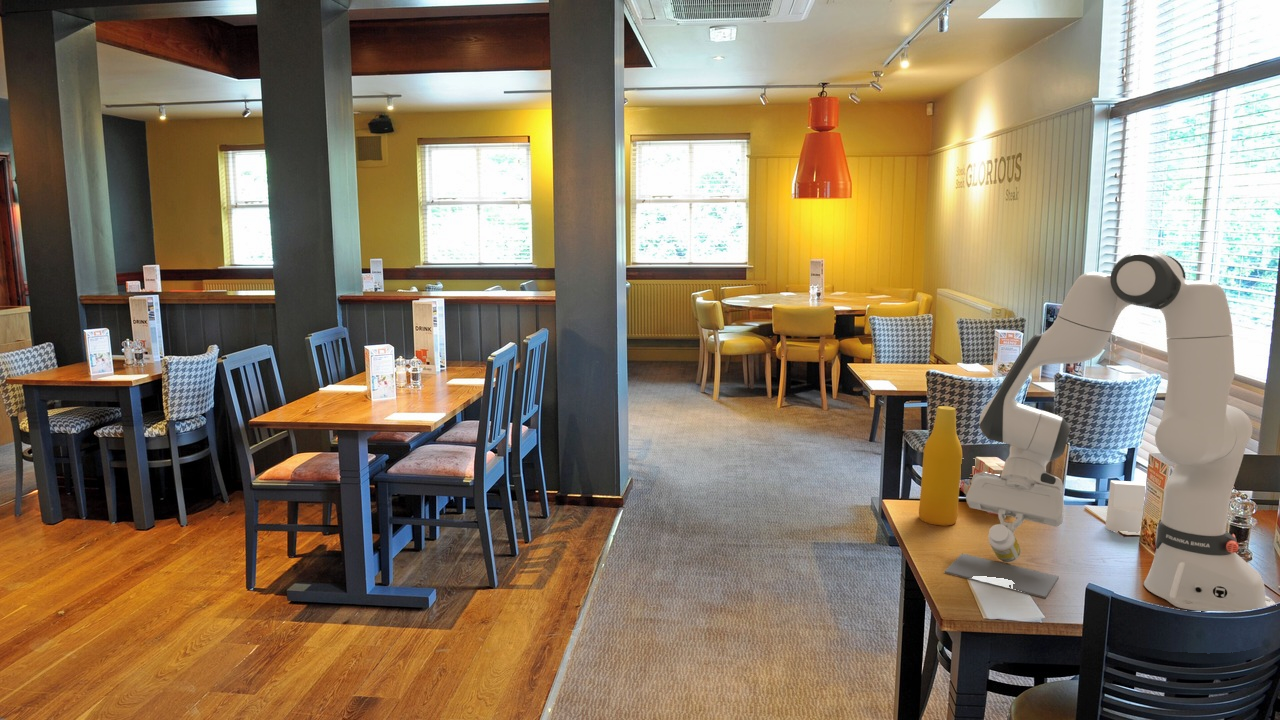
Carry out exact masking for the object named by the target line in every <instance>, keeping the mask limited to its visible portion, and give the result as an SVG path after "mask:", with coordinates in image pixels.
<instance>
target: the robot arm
mask: <svg viewBox="0 0 1280 720" xmlns="http://www.w3.org/2000/svg"><path fill="white" fill-rule="evenodd" d="M1186 277H1187V276H1186V272H1185V269H1184V267H1183V266H1182V264H1181V263H1180V262H1179V261H1178V260H1177V259H1176V258H1174V257H1172V256H1170V255H1168V254H1164V253H1161V252H1158V251H1148V250H1147V251H1146V250H1145V251H1136V252H1135V251H1134V252H1131V253H1129V254H1127V255H1125V256H1123V257H1122V258H1120V259H1119V260H1118V262H1116V264H1115V265H1114V266H1113V268H1112V270H1111V272H1110V273H1107V272H1106V273H1104V272H1101V271H1099V272H1098V271H1091V272H1086V273H1082V274H1080V275H1079V277H1077V279H1076V280H1075V281H1074V283H1073V284H1072V286H1071V287H1070V289H1069V291H1068V292H1067V295H1066V296H1065V298H1064V300H1063V303H1062V304H1061V307H1060V309H1059V311H1058V313H1057V315H1056V319H1055V320H1054V322H1053V323H1052V325H1051V326H1050V327H1049V328H1048V329H1047V330H1045V331H1043V332H1042V333H1036V334H1034V335H1033V336H1032V337H1031V338H1030V339H1029V340H1028V341H1027V343H1026V344H1025V346H1024V347H1023V349H1022V350H1021V351H1020V353H1019V355H1018V356H1017V358H1016V360H1015V361H1014V363H1013V364H1012V366H1011V367H1010V369H1009V371H1008V373H1007V374H1006V375H1005V377H1004V378H1003V381H1002V382H1001V384H1000V386H999V387H998V389H997V390H996V392H995V394H994V395H993V396H992V398H991V399H990V400H989V401H988V402H987V403H986V404H985V406H984V407H983V409H982V411H981V414H980V416H979V423H978V427H979V429H980V430H981V432H982V434H983V435H984V436H985V438H987V439H988V440H990V441H995V442H998V443H1005V444H1007V445H1010V446H1009V455H1008V456H1007V458H1006V460H1005V461H1004V462H1005V465H1004V468H1003V471H1002V474H1001V475H997V474H990V473H987V472H981V473H977V474H975V475H974V476H973V478H972V481H971V486H970V488H969V490H968V493H967V495H966V494H965V500H966V503H967V505H968V507H969V508H970V509H975V510H978V511H979V510H980V511H983V512H986V511H987V512H992V513H996V514H995V515H998V520H999V522H1000V523H999V524H1001V525H1004V526H1005V527H1006V528H1008V529H1010V530H1011V531H1012V532H1013V534H1014V535H1015V531H1016V529H1017V528H1019V526H1021V525H1023V524H1024V521H1029V522H1034V523H1038V524H1042V525H1047V526H1052V527H1060V526H1061V525H1062V524H1063V522H1064V517H1065V502H1064V490H1065V489H1064V484H1063V482H1062V481H1063V480H1062V479H1060V478H1059V477H1057V476H1055V475H1054V474H1051V473H1048V472H1047V465H1048V463H1049V462H1053V461H1055V460H1056V459H1058V458H1061V456H1063V454H1064V452H1065V450H1066V445H1067V443H1068V436H1069V434H1070V432H1071V429H1070V426H1069V424H1068V423H1067V421H1066V419H1065V418H1064V417H1062V416H1060V415H1057V414H1055V413H1052V412H1049V411H1046V410H1043V409H1038V408H1036V407H1033V406H1029V405H1026V404H1023V403H1021V402H1018V401H1017V400H1016V397H1017V396H1018V394H1019V392H1020V390H1021V389H1022V388H1023V386H1024V384H1025V382H1026V381H1027V380H1028V378H1029V376H1030V375H1031V374H1032V372H1033V371H1034V370H1036V369H1038V368H1039V367H1041V366H1042V367H1043V366H1047V365H1057V364H1059V365H1060V364H1063V365H1064V364H1077V363H1082V362H1083V363H1084V362H1087V361H1090V360H1092V359H1093V358H1094V359H1095V358H1096V357H1097V356H1099V355H1100V354H1102V352H1103V350H1104V349H1105V347H1106V345H1107V343H1108V341H1109V339H1110V337H1111V335H1112V333H1113V330H1114V327H1115V325H1116V323H1117V321H1118V317H1119V316H1120V315H1121V312H1123V310H1124V309H1125V308H1126V307H1129V306H1131V305H1133V306H1139V307H1144V308H1149V309H1154V310H1160V312H1162V314H1163V317H1164V320H1165V329H1166V330H1165V332H1166V347H1167V350H1166V351H1167V372H1168V373H1167V386H1166V387H1167V388H1166V392H1165V398H1164V404H1163V411H1162V414H1161V415H1162V416H1161V421H1159V422H1160V423H1159V425H1158V427H1157V428H1156V430H1155V435H1154V441H1155V445H1156V447H1157V450H1158V451H1159V453H1160V454H1161V455H1162V457H1164V458H1166V460H1168V461H1169V462H1172V463H1175V465H1174V467H1173V469H1172V472H1171V474H1170V475H1169V478H1168V479H1167V481H1166V484H1165V487H1164V494H1163V503H1162V511H1161V519H1159V521H1158V523H1157V526H1156V532H1155V533H1156V534H1155V541H1154V542H1155V548H1156V549H1155V553H1154V555H1153V556H1154V557H1153V561H1152V563H1151V566H1150V570H1149V571H1148V574H1147V576H1146V578H1145V580H1144V582H1143V585H1144V588H1146V589H1147V590H1148V591H1149V592H1151V593H1152V594H1153V595H1155V596H1158V597H1159V598H1162V599H1164V600H1166V601H1167V602H1169V603H1170V604H1171V605H1173V606H1174V607H1177V608H1179V609H1184V610H1190V611H1194V612H1195V611H1197V612H1200V611H1243V610H1252V609H1258V608H1263V607H1266V606H1270V605H1273V604H1276V602H1275V601H1274V600H1273V599H1272V598H1271V597H1269V596H1268V595H1266V588H1265V583H1264V579H1263V578H1262V576H1261V573H1259V572H1258V571H1257V570H1256V569H1255V568H1254V567H1252V565H1251V564H1249V563H1248V562H1247V561H1246V560H1245V559H1243V558H1242V557H1241V556H1240V555H1239V554H1238V553H1237V552H1239V546H1240V545H1239V543H1238V542H1237V538H1236V535H1235V534H1234V533H1232V534H1231V533H1230V532H1228V531H1227V525H1228V524H1227V523H1228V515H1229V509H1230V502H1231V497H1232V491H1233V488H1234V485H1235V482H1236V480H1237V476H1238V474H1239V471H1240V468H1241V466H1242V465H1241V464H1242V461H1243V458H1244V456H1245V455H1244V454H1245V452H1246V448H1247V446H1248V443H1249V442H1250V440H1251V438H1252V435H1253V431H1254V430H1253V424H1252V421H1251V419H1250V417H1249V416H1248V415H1247V413H1245V411H1243V410H1242V409H1240V408H1238V407H1236V406H1233V405H1230V404H1228V401H1229V396H1230V391H1231V386H1232V383H1233V381H1234V380H1235V379H1234V378H1235V376H1236V375H1235V374H1236V373H1235V371H1236V370H1235V369H1236V368H1235V350H1234V333H1233V323H1232V317H1231V312H1230V307H1229V303H1228V299H1227V296H1226V292H1225V290H1224V289H1223V288H1222V287H1221V286H1220V285H1219V284H1218V283H1217V284H1216V283H1214V282H1212V281H1207V280H1188V279H1186ZM987 512H986V513H987ZM1007 517H1011V518H1015V520H1014V521H1012V523H1011V522H1006V521H1005V520H1006V518H1007Z"/></svg>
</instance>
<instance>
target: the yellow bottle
mask: <svg viewBox="0 0 1280 720" xmlns="http://www.w3.org/2000/svg"><path fill="white" fill-rule="evenodd" d="M956 413H957V412H956V407H954V406H953V407H952V406H947V405H944V406H943V405H940V406H937V409H936V415H935V420H934V424H933V425H934V426H933V429H932V432H931V433H930V435H929V436H928V437H927V440H926V442H925V445H924V447H923V458H922V471H921V482H920V495H919V496H920V497H919V507H918V516H919V519H920V520H921V521H922V522H925V524H930V525H933V526H944V527H945V526H946V527H947V526H953V525H954V524H956V523H957V520H958V514H959V513H958V511H959V501H960V500H959V497H960V482H961V464H962V459H963V449H962V445H961V441H960V439H959V436H958V434H957V418H956V417H957V416H956Z"/></svg>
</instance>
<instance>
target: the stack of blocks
mask: <svg viewBox="0 0 1280 720" xmlns="http://www.w3.org/2000/svg"><path fill="white" fill-rule="evenodd" d="M974 459H975V466H972V474H970V475H973V476H974V475H975V474H977V473H981V472H987V473H990V474H997V475H1001V474H1002V471H1003V468H1004V465H1005V462H1006V461H1004V460H1002V459H1001V458H999V457H998V456H997V457H996V456H975V458H974ZM969 478H973V477H969ZM971 481H972V479H965V480H961V479H960V488H961V489H960V488H959V491H961V492H963V494H964V495H965V496H966V495H967V493H968V490H969V488H970V486H971ZM985 512H986V513H987V514H989V515H997V514H996V513H992V512H987V511H985Z"/></svg>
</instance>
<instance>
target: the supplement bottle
mask: <svg viewBox="0 0 1280 720" xmlns="http://www.w3.org/2000/svg"><path fill="white" fill-rule="evenodd" d="M988 543H989V545H990V546H991V548H992V551H993V553H994V554H995V556H996V558H997V559H998V560H1000V561H1002V562H1003V563H1012V562H1014V561H1016V560H1018V559H1019V558H1020V556H1021V552H1022V551H1021V547H1020V544H1019V542H1018V540H1017V538H1016V536H1015V533H1014V534H1013V532H1012V531H1011V530H1010V529H1008V528H1006V527H1005V526H1004V525H1001V524H1000V523H999V524H994V525H992V526H991V527H990V528H989V531H988Z"/></svg>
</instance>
